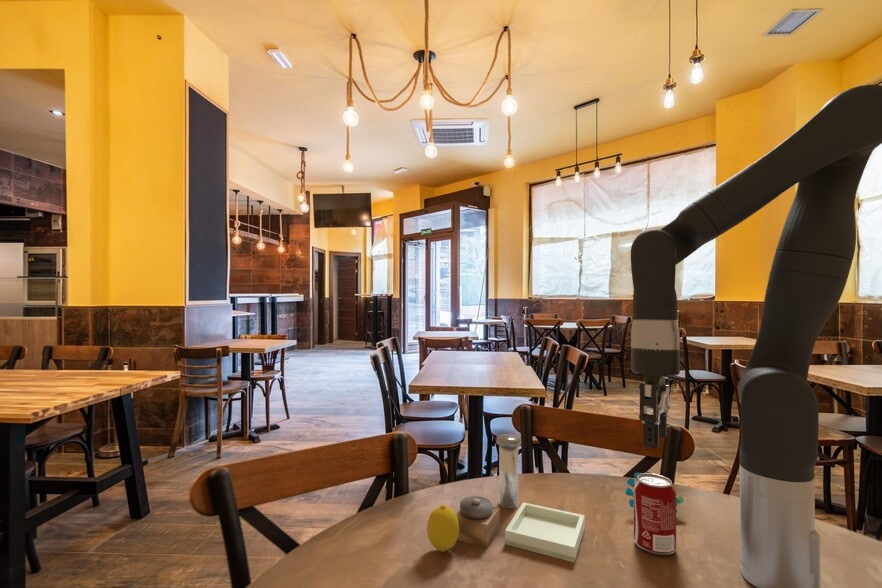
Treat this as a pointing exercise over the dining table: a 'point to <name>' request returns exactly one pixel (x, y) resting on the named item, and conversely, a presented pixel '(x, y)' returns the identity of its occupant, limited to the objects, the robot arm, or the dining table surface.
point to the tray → (546, 531)
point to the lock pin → (508, 470)
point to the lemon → (443, 528)
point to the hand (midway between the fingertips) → (655, 441)
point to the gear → (631, 493)
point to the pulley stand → (477, 521)
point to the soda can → (655, 514)
